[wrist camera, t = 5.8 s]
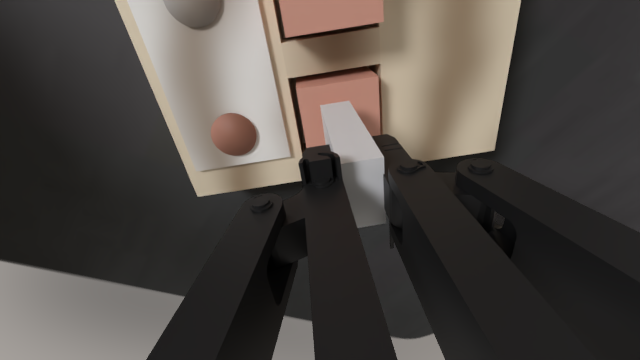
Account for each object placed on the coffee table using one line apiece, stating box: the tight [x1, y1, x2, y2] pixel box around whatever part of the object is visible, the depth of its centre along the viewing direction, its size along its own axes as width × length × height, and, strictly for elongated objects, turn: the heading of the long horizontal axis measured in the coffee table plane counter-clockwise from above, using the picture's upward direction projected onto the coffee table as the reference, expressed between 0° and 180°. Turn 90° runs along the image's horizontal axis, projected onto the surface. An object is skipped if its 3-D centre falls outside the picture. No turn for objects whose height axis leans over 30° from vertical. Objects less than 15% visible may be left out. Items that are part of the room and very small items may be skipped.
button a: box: [296, 66, 381, 148], centre depth 18 cm, size 4×4×4 cm
